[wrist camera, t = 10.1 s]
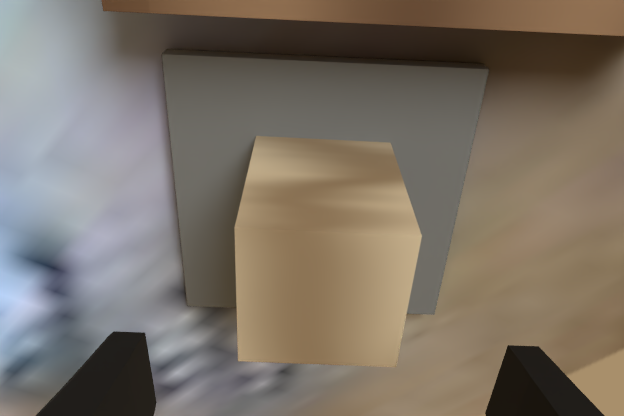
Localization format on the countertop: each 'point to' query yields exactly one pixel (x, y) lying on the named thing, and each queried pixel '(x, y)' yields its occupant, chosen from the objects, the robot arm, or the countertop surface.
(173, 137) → the mat
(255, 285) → the maple block
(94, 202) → the countertop surface
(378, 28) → the countertop surface
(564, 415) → the robot arm
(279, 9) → the slot box
